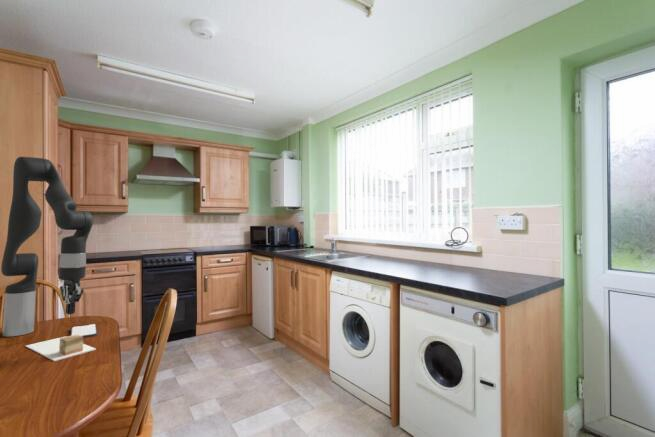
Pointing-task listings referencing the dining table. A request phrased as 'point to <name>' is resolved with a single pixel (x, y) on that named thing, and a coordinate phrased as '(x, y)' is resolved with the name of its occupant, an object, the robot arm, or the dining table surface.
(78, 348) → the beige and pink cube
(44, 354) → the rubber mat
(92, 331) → the phone case
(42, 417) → the dining table surface
